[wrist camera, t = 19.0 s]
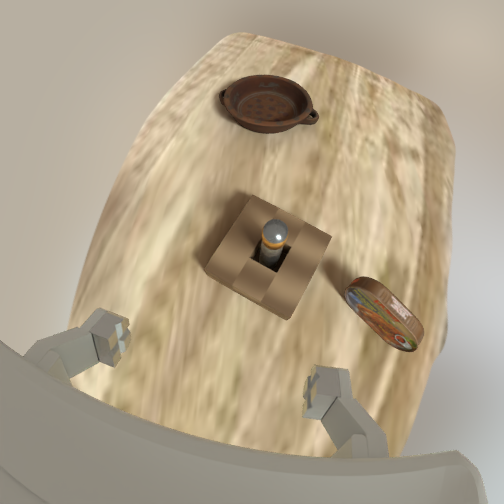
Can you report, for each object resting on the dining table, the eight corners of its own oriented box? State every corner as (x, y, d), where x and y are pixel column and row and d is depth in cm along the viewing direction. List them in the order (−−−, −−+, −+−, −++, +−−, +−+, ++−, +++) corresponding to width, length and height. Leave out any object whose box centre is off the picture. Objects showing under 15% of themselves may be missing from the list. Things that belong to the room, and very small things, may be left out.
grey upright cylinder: (272, 273, 45) (281, 247, 34) (254, 263, 45) (257, 234, 34) (282, 256, 46) (293, 226, 34) (264, 247, 46) (270, 213, 35)
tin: (336, 295, 44) (355, 283, 36) (348, 281, 45) (368, 266, 37) (397, 354, 41) (425, 353, 33) (407, 339, 42) (435, 336, 34)
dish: (308, 155, 53) (313, 138, 48) (203, 129, 55) (200, 113, 50) (322, 102, 58) (326, 87, 54) (232, 82, 60) (231, 66, 55)
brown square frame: (286, 320, 43) (290, 317, 39) (207, 275, 45) (204, 268, 41) (325, 245, 47) (332, 236, 43) (252, 206, 49) (252, 194, 45)
